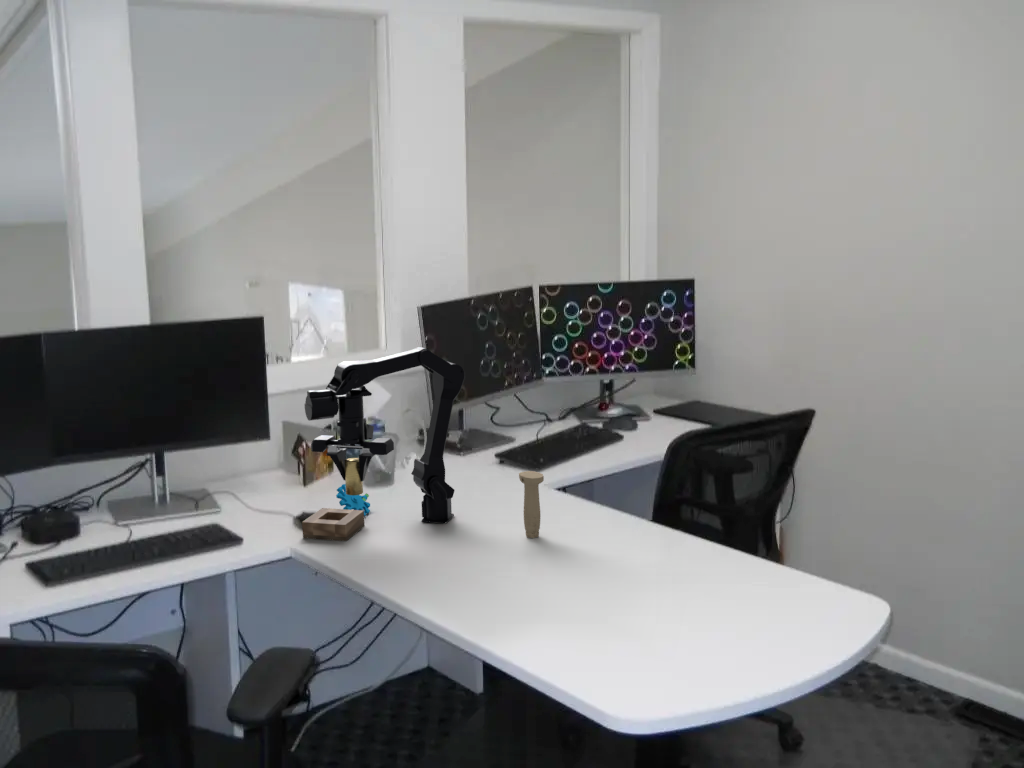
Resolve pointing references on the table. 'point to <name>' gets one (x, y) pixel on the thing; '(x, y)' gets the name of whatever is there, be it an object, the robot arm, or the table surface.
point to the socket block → (333, 524)
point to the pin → (353, 477)
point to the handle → (531, 502)
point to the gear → (353, 500)
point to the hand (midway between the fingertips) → (353, 480)
